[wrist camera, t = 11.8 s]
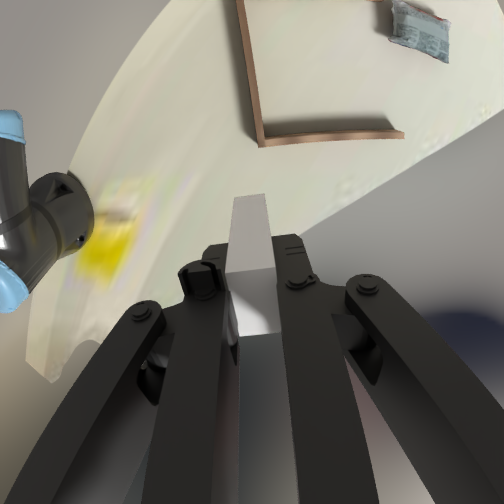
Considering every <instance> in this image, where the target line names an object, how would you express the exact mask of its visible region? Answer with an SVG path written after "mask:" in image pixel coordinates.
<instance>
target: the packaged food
mask: <svg viewBox="0 0 504 504" xmlns="http://www.w3.org/2000/svg"><path fill="white" fill-rule="evenodd" d="M392 2H393V8H391V11H392V14H393V25H394V31H393V36H391V37H389V38H388V40H389V41H390V42H393V43H397V44H399V45H402V46H405V47H409V48H412V49H416V50H419V51H421V52H423V53H426V54H428V55H430V56H432V57H433V58H436V59H438V60H441V61H442V62H444V63H449V62H448V56H449V35H448V33H449V28H450V25H451V22H450V21H449V20H447V19H441V18H439V17H437V16H434V15H430V14H428V13H426V12H424V11H422V10H420V9H418V8H414V7H412V6H411V5H409V4H407V3H405V2H403V1H401V0H392Z"/></svg>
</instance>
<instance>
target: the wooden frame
mask: <svg viewBox="0 0 504 504" xmlns="http://www.w3.org/2000/svg"><path fill="white" fill-rule="evenodd" d="M369 1H376V2H381V1H383V0H369ZM236 6H237V12H238V18H239V24H240V30H241V36H242V42H243V48H244V55H245V61H246V67H247V74H248V80H249V87H250V94H251V100H252V107H253V114H254V121H255V128H256V135H257V142H258V148H261V147H270V146H278V145H288V144H298V143H310V142H323V141H339V140H361V139H404V132H401V131H398V130H344V131H325V132H310V133H298V134H287V135H277V136H269V137H264V130H263V123H262V115H261V108H260V101H259V94H258V87H257V81H256V74H255V67H254V61H253V54H252V48H251V42H250V36H249V30H248V24H247V18H246V12H245V6H244V0H236Z"/></svg>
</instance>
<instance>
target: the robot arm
mask: <svg viewBox="0 0 504 504" xmlns="http://www.w3.org/2000/svg"><path fill="white" fill-rule="evenodd" d="M25 144H26V141H25V140H24V132H23V120H22V117H21V115H20V113H18V112H17V111H15V110H0V313H10V312H12V311H14V310H16V308H17V307H18V306H19V305H20V304H21V303H22V302H23V300H26V299H27V298H28V296H29V294H30V293H31V291H32V290H33V289H34V288H35V287H36V285H37V284H38V283H39V281H40V280H41V279H42V278H43V276H44V275H45V274H46V273H47V272H48V270H49V269H50V268H51V267H52V266H53V264H54V263H55V262H56V261H57V260H59V259H61V258H63V257H66V256H68V255H70V254H73V253H75V252H77V251H78V250H80V249H81V248H82V247H83V246H84V244H85V243H86V242H87V241H88V240H89V238H90V237H91V234H92V232H93V228H94V212H93V207H92V204H91V201H90V199H89V197H88V195H87V193H86V191H85V190H84V188H83V187H82V186H81V185H80V184H79V183H78V182H77V181H76V180H75V179H74V178H72V177H70V176H69V175H66V174H63V173H58V172H54V173H49V174H46V175H44V176H43V177H41V178H39V179H38V180H36V181H35V182H34V183H33V184H32V185H31V187H30V188H29V185H28V176H27V167H26V154H25ZM178 277H179V280H180V283H181V286H182V289H183V292H184V295H185V296H184V300H183V302H181V303H179V304H176V305H174V306H171V307H167V308H164V309H162V308H161V306H160V304H158V303H157V302H156V301H152V300H146V301H141V302H138V303H136V304H134V305H132V306H131V307H130V308H129V309H128V310H126V311H125V313H124V314H123V315H122V317H121V318H120V319H119V321H118V322H117V323H116V325H115V326H114V328H113V329H112V330H111V332H110V333H109V334H108V336H107V337H106V338H105V340H104V341H103V343H102V344H101V345H100V347H99V348H98V350H97V351H96V353H95V354H94V355H93V357H92V358H91V360H90V361H89V362H88V364H87V366H86V367H85V368H84V370H83V371H82V373H81V374H80V376H79V377H78V378H77V380H76V382H75V383H74V384H73V386H72V387H71V389H70V391H69V392H68V393H67V395H66V396H65V398H64V400H63V401H62V403H61V404H60V406H59V407H58V409H57V411H56V412H55V414H54V415H53V417H52V418H51V420H50V422H49V423H48V425H47V427H46V428H45V430H44V431H43V433H42V435H41V437H40V438H39V440H38V441H37V443H36V445H35V447H34V449H33V450H32V452H31V454H30V455H29V457H28V459H27V461H26V462H25V464H24V467H23V468H22V470H21V471H20V473H19V475H18V477H17V479H16V481H15V483H14V485H13V487H12V489H11V491H10V493H9V494H8V496H7V499H6V501H5V503H4V504H122V503H123V501H124V498H125V496H126V494H127V492H128V490H129V487H130V485H131V483H132V481H133V479H134V476H135V474H136V472H137V470H138V468H139V466H140V463H141V461H142V459H143V457H144V455H145V453H146V450H147V448H148V446H149V444H150V442H151V446H150V452H149V457H148V463H147V469H146V475H145V481H144V488H143V494H142V501H141V504H238V447H239V446H238V445H239V374H240V346H239V342H238V338H237V337H238V331H239V335H240V336H249V335H259V334H268V333H276V332H281V333H282V342H283V352H284V359H285V369H286V378H287V387H288V397H289V407H290V416H291V427H292V436H293V448H294V459H295V470H296V482H297V493H298V504H379V499H378V494H377V489H376V484H375V479H374V474H373V470H372V465H371V460H370V456H369V451H368V447H367V443H366V439H365V434H364V430H363V426H362V422H361V418H360V414H359V410H358V406H357V403H356V399H355V395H354V391H353V388H352V384H351V380H350V377H349V373H348V370H347V366H346V363H345V359H344V356H345V358H346V359H347V361H348V363H349V364H350V366H351V367H352V369H353V370H354V372H355V373H356V375H357V377H358V378H359V380H360V381H361V383H362V385H363V386H364V388H365V389H366V391H367V392H368V394H369V395H370V397H371V399H372V400H373V402H374V403H375V405H376V407H377V408H378V410H379V411H380V413H381V414H382V416H383V418H384V420H385V421H386V423H387V424H388V426H389V427H390V429H391V431H392V432H393V434H394V436H395V437H396V439H397V441H398V442H399V444H400V445H401V447H402V449H403V450H404V452H405V454H406V455H407V457H408V459H409V460H410V462H411V464H412V465H413V467H414V468H415V470H416V471H417V474H418V475H419V477H420V479H421V480H422V482H423V484H424V485H425V487H426V489H427V490H428V492H429V494H430V495H431V497H432V499H433V501H434V502H435V504H504V409H502V407H501V406H500V404H499V403H498V402H497V401H496V399H495V398H494V397H493V396H492V394H491V393H490V392H489V391H488V390H487V389H486V387H485V386H484V385H483V384H482V382H481V381H480V380H479V379H478V378H477V377H476V375H475V374H474V373H473V372H472V371H471V370H470V368H469V367H468V366H467V365H466V364H465V363H464V362H463V361H462V359H461V358H460V357H459V356H458V355H457V354H456V353H455V352H454V351H453V349H452V348H451V347H450V346H449V345H448V344H447V343H446V342H445V341H444V340H443V339H442V337H441V336H440V335H439V334H438V333H437V332H436V331H435V330H434V329H433V328H432V327H431V326H430V325H429V324H428V323H427V322H426V321H425V320H424V319H423V318H422V317H421V316H420V314H419V313H417V312H416V311H415V309H414V308H413V307H411V305H410V304H409V303H407V301H406V300H404V299H403V297H402V296H401V295H399V294H398V293H397V292H396V291H395V290H394V289H393V288H392V287H391V286H390V285H389V284H388V283H387V282H386V281H385V280H383V279H382V278H380V277H379V276H375V275H372V274H361V275H356V276H354V277H352V278H350V279H349V281H348V282H347V283H346V287H344V286H332V285H328V284H325V283H322V282H320V280H319V278H318V277H317V275H316V274H314V273H313V271H312V268H311V265H310V262H309V259H308V256H307V253H306V250H305V247H304V244H303V241H302V239H301V238H300V237H299V236H297V235H296V234H288V235H280V236H272V237H271V233H270V226H269V220H268V213H267V207H266V200H265V194H257V195H250V196H243V197H235V198H234V203H233V211H232V219H231V227H230V235H229V243H224V244H216V245H210V246H209V247H208V248H207V249H206V250H205V251H204V252H203V255H202V259H201V260H197V261H193V262H191V263H189V264H187V265H185V266H184V267H183V268H181V269H180V271H179V272H178ZM343 355H344V356H343ZM144 361H145V362H144ZM143 363H144V364H143ZM142 364H143V365H142Z"/></svg>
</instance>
